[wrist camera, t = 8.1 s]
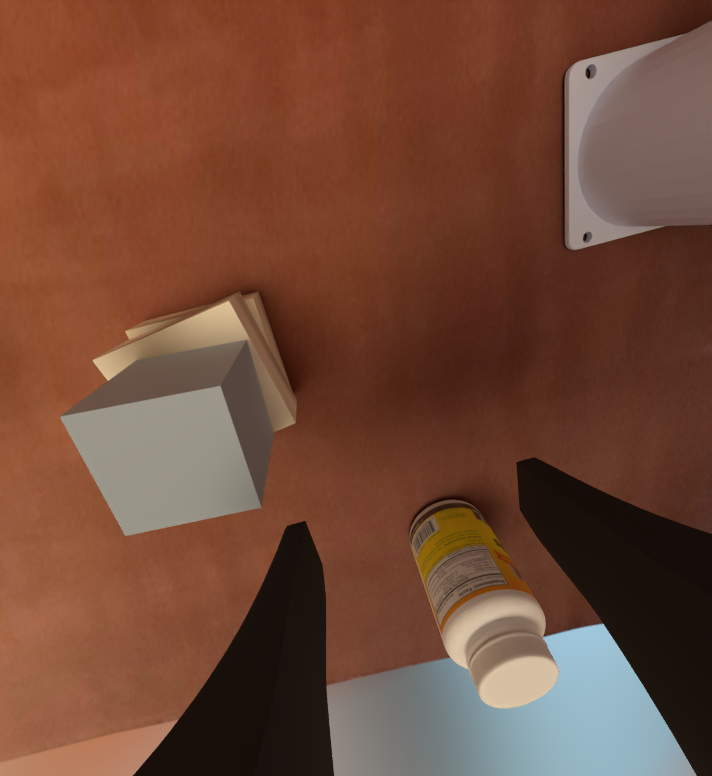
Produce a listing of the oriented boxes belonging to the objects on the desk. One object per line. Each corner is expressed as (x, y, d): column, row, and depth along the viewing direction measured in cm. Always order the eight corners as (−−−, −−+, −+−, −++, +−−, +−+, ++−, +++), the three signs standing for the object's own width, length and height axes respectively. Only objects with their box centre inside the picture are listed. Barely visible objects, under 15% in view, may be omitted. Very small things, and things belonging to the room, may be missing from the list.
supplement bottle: (481, 546, 28) (570, 704, 18) (410, 561, 27) (464, 730, 18) (481, 487, 26) (581, 634, 16) (403, 503, 25) (460, 662, 16)
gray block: (247, 339, 15) (220, 385, 10) (274, 433, 17) (261, 507, 12) (136, 360, 15) (59, 416, 10) (175, 452, 17) (125, 536, 12)
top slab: (239, 291, 17) (228, 300, 14) (297, 400, 19) (295, 423, 17) (121, 343, 17) (92, 360, 15) (192, 444, 19) (177, 472, 17)
